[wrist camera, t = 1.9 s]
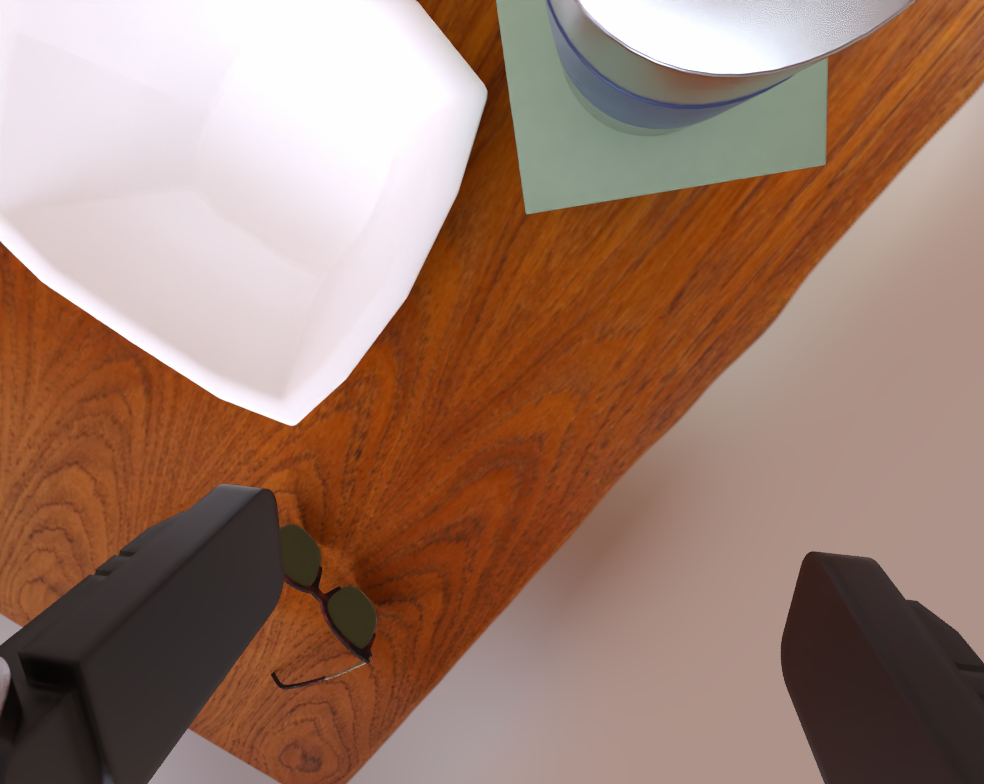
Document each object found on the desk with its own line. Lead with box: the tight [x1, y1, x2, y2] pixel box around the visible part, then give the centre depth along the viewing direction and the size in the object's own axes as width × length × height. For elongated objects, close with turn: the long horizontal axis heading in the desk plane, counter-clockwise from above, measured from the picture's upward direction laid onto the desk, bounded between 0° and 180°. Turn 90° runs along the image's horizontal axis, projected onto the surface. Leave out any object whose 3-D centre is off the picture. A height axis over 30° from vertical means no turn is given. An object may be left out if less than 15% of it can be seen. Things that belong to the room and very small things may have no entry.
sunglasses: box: [271, 524, 377, 689], centre depth 51 cm, size 14×15×5 cm
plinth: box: [496, 0, 828, 214], centre depth 27 cm, size 10×10×18 cm
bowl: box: [0, 0, 488, 426], centre depth 34 cm, size 24×25×10 cm
